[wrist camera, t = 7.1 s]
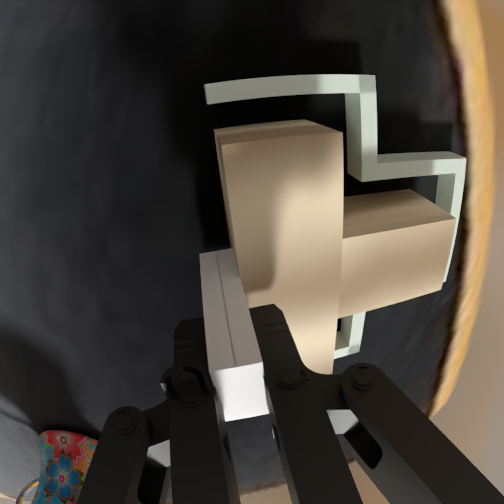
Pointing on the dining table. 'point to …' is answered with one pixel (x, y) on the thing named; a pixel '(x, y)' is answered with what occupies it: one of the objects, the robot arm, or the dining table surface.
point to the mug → (61, 467)
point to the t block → (322, 233)
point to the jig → (358, 152)
